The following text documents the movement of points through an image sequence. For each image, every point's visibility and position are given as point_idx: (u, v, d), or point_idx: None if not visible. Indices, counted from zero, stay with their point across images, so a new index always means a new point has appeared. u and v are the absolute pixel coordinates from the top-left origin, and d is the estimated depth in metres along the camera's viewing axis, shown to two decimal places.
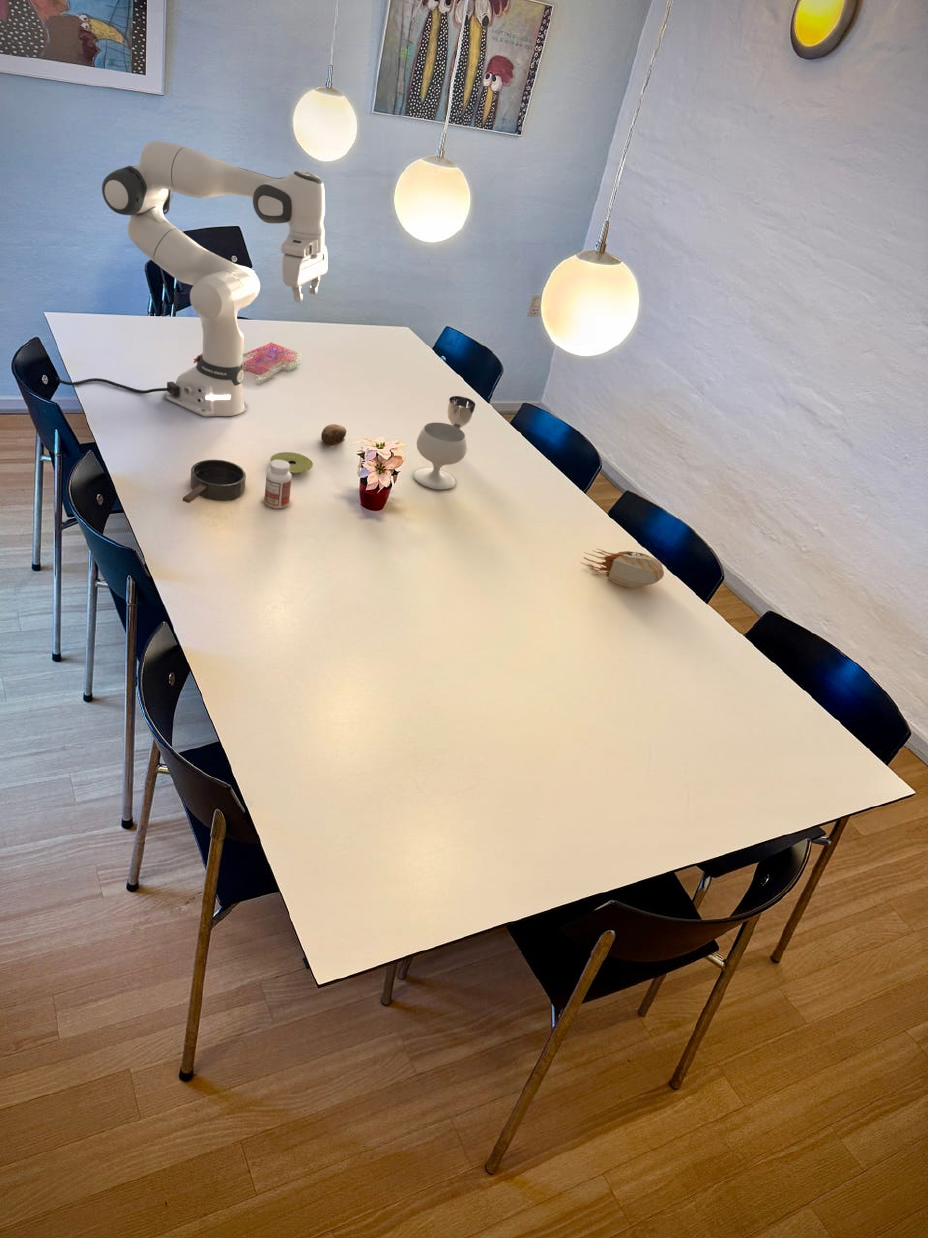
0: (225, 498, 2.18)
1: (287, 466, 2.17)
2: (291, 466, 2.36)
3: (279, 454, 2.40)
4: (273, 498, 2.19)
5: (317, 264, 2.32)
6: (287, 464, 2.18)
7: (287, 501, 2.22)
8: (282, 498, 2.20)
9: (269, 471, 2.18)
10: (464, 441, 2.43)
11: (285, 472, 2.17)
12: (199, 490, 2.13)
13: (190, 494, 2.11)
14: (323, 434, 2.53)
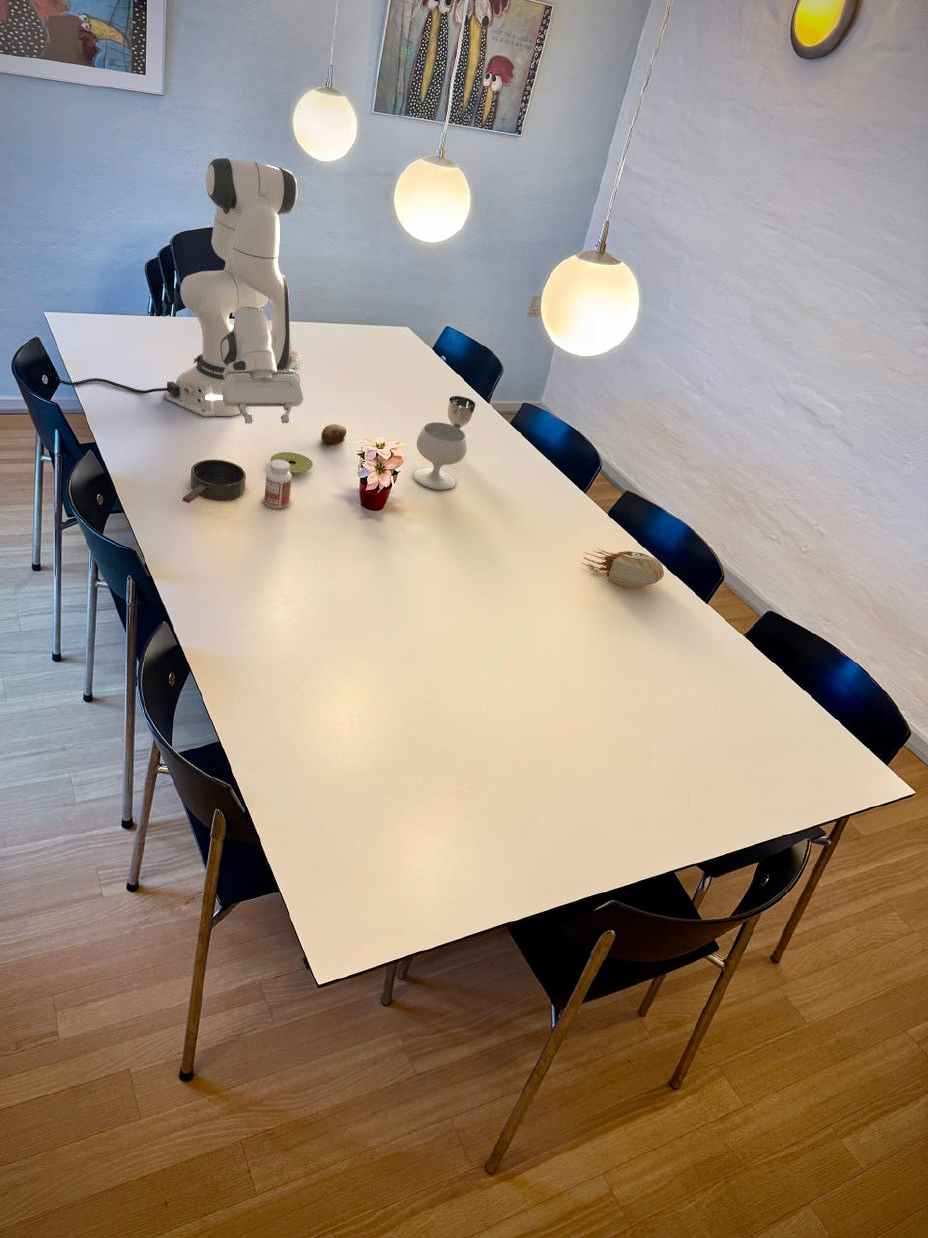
0: (225, 498, 2.18)
1: (287, 466, 2.17)
2: (291, 466, 2.36)
3: (279, 454, 2.40)
4: (273, 498, 2.19)
5: (274, 388, 2.23)
6: (287, 464, 2.18)
7: (287, 501, 2.22)
8: (282, 498, 2.20)
9: (269, 471, 2.18)
10: (464, 441, 2.43)
11: (285, 472, 2.17)
12: (199, 490, 2.13)
13: (190, 494, 2.11)
14: (323, 434, 2.53)
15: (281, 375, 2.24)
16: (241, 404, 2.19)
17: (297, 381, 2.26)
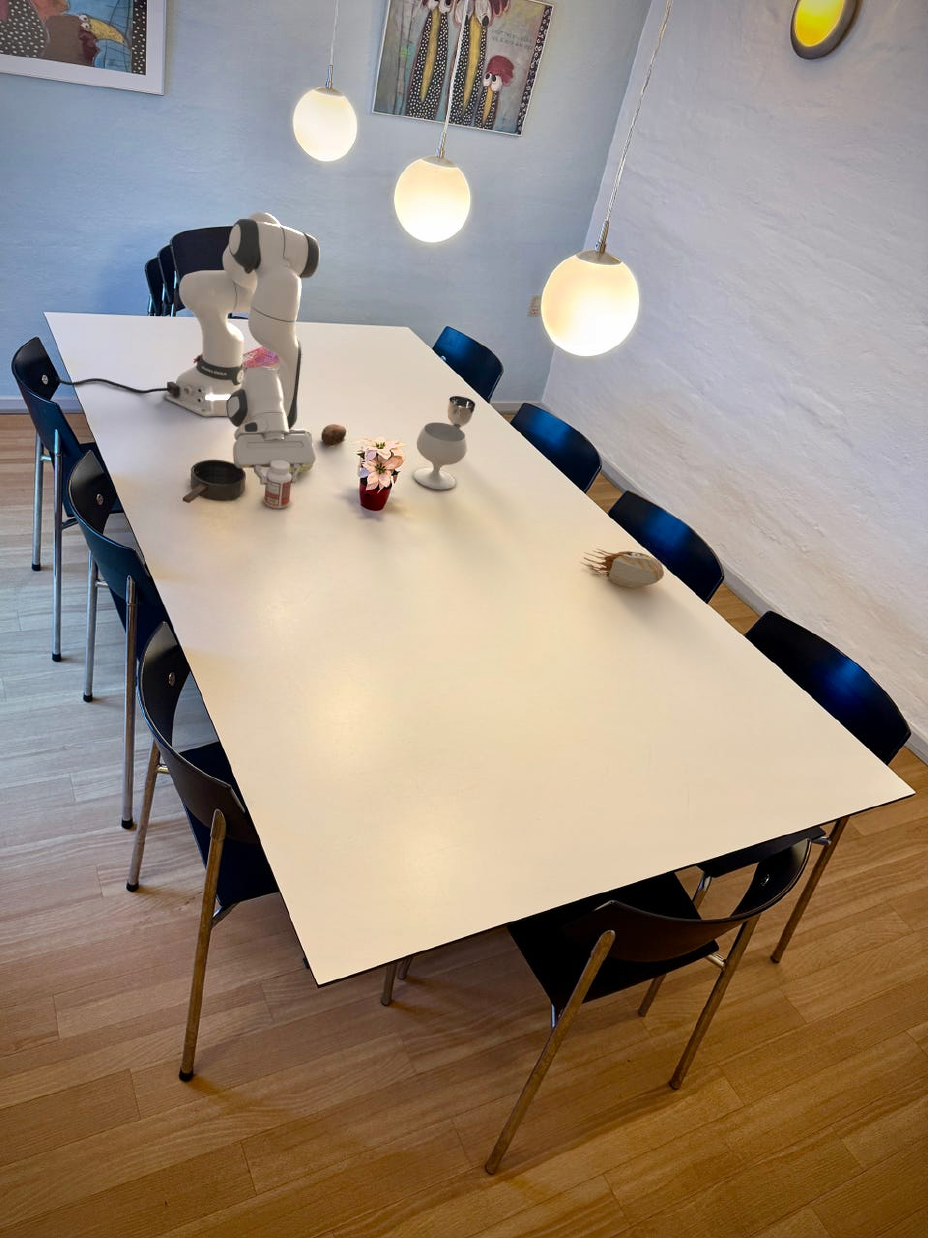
0: (225, 498, 2.18)
1: (287, 466, 2.17)
2: (291, 466, 2.36)
3: None
4: (273, 498, 2.19)
5: (286, 449, 2.20)
6: (287, 464, 2.18)
7: (287, 501, 2.22)
8: (282, 498, 2.20)
9: (269, 471, 2.18)
10: (464, 441, 2.43)
11: (285, 472, 2.17)
12: (199, 490, 2.13)
13: (190, 494, 2.11)
14: (323, 434, 2.53)
15: (293, 435, 2.21)
16: (256, 466, 2.17)
17: (309, 441, 2.23)
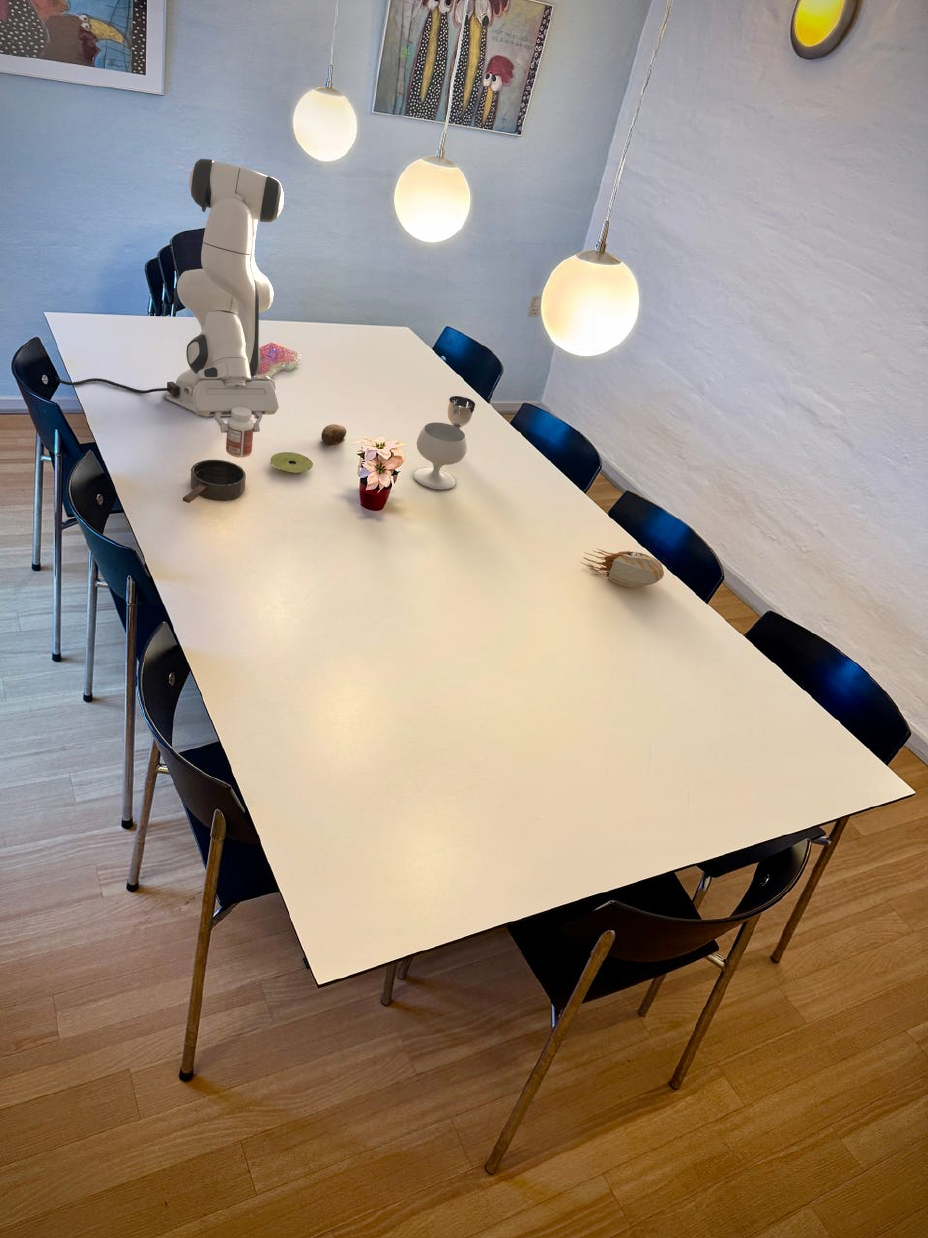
0: (225, 498, 2.18)
1: (249, 413, 2.10)
2: (291, 466, 2.36)
3: (279, 454, 2.40)
4: (234, 447, 2.13)
5: (248, 396, 2.13)
6: (249, 411, 2.11)
7: (249, 450, 2.16)
8: (244, 446, 2.13)
9: (230, 418, 2.11)
10: (464, 441, 2.43)
11: (247, 419, 2.10)
12: (199, 490, 2.13)
13: (190, 494, 2.11)
14: (323, 434, 2.53)
15: (255, 382, 2.15)
16: (217, 412, 2.10)
17: (272, 388, 2.16)
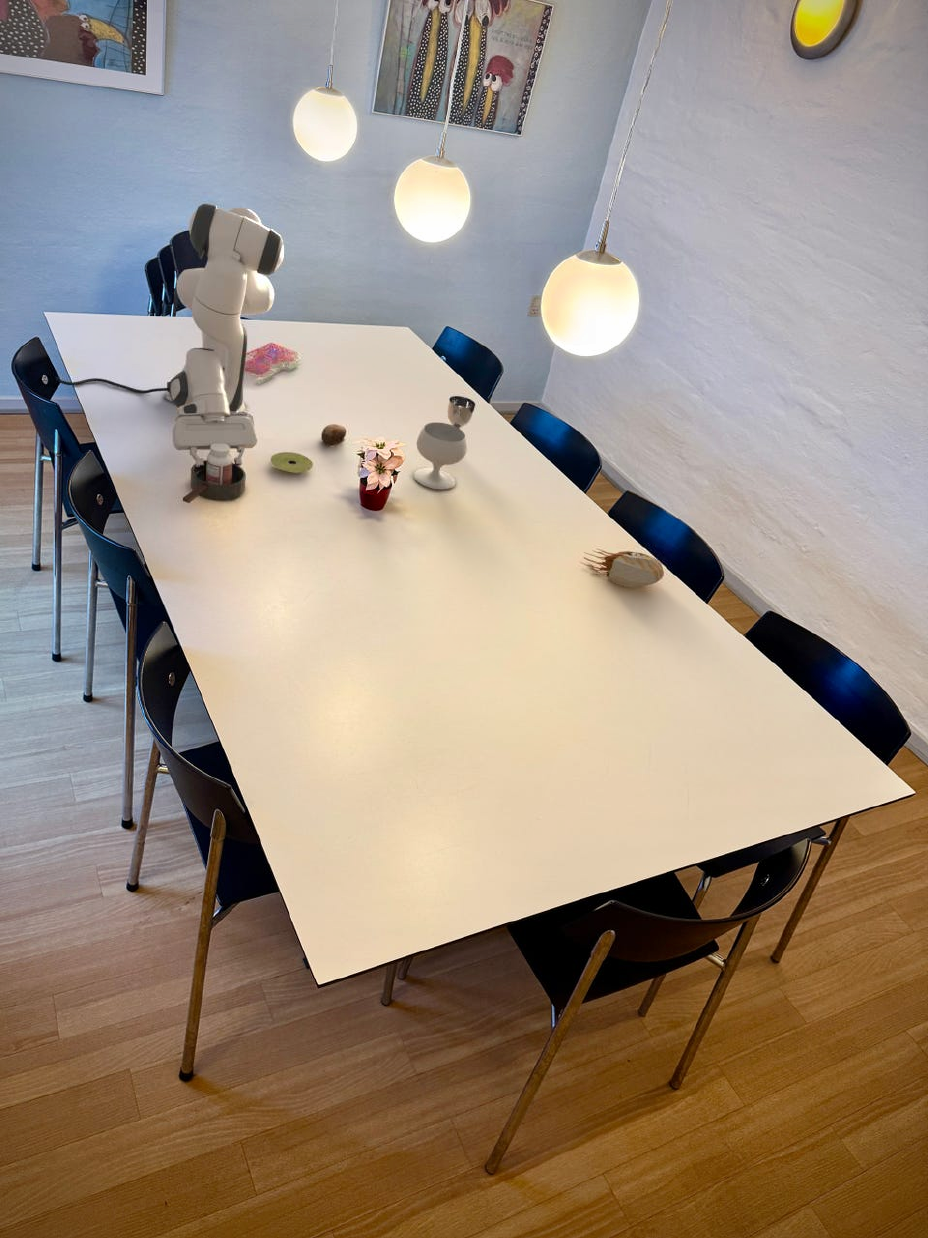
0: (225, 498, 2.18)
1: (227, 449, 2.16)
2: (291, 466, 2.36)
3: (279, 454, 2.40)
4: (213, 481, 2.19)
5: (227, 431, 2.19)
6: (227, 447, 2.17)
7: None
8: (223, 481, 2.19)
9: (209, 454, 2.17)
10: (464, 441, 2.43)
11: (225, 455, 2.16)
12: (199, 490, 2.13)
13: (190, 494, 2.11)
14: (323, 434, 2.53)
15: (234, 417, 2.20)
16: (192, 447, 2.15)
17: (250, 423, 2.22)
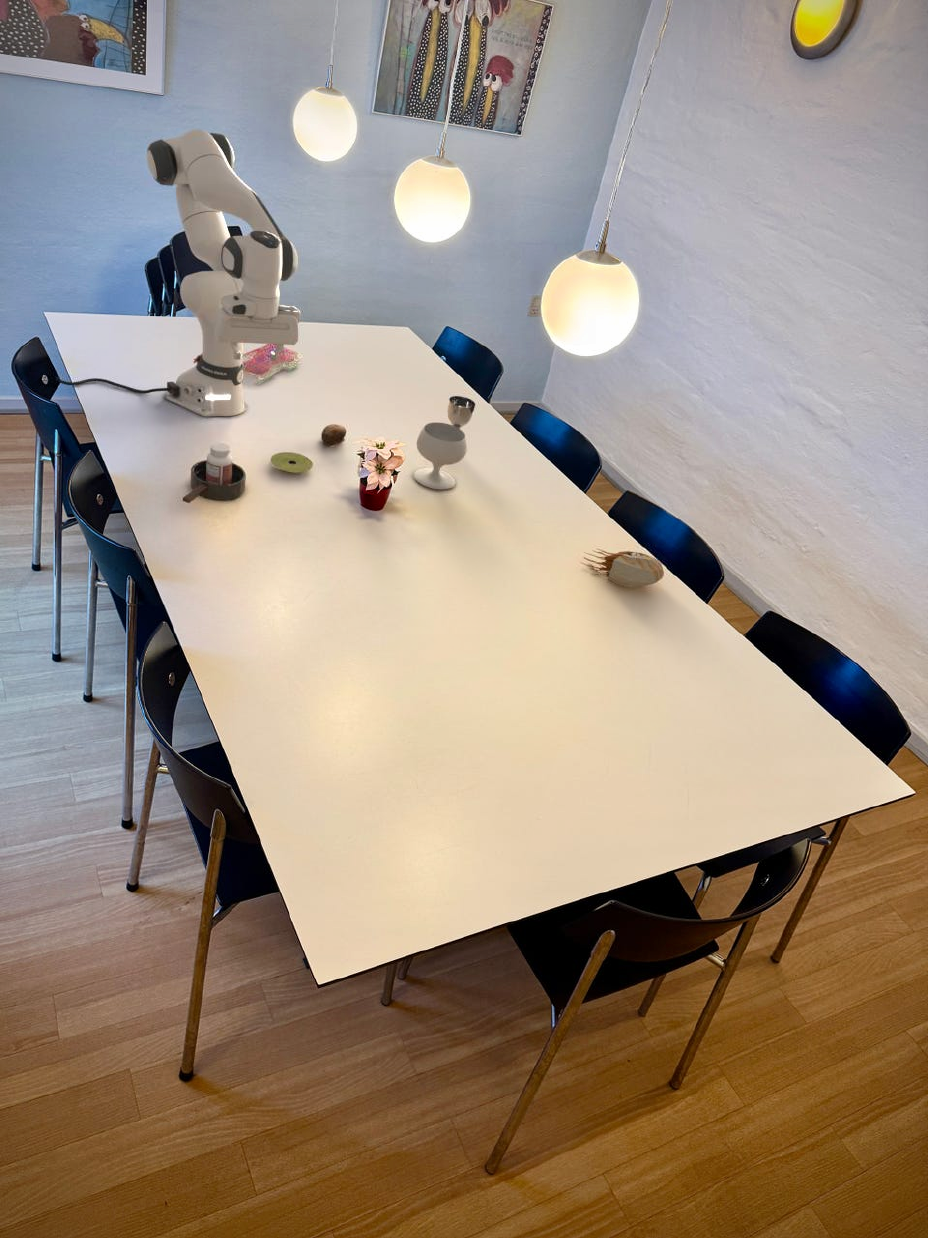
0: (225, 498, 2.18)
1: (227, 449, 2.16)
2: (291, 466, 2.36)
3: (279, 454, 2.40)
4: (213, 481, 2.19)
5: (270, 330, 2.17)
6: (227, 447, 2.17)
7: None
8: (223, 481, 2.19)
9: (209, 454, 2.17)
10: (464, 441, 2.43)
11: (225, 455, 2.16)
12: (199, 490, 2.13)
13: (190, 494, 2.11)
14: (323, 434, 2.53)
15: (281, 317, 2.16)
16: (232, 343, 2.15)
17: (296, 324, 2.19)
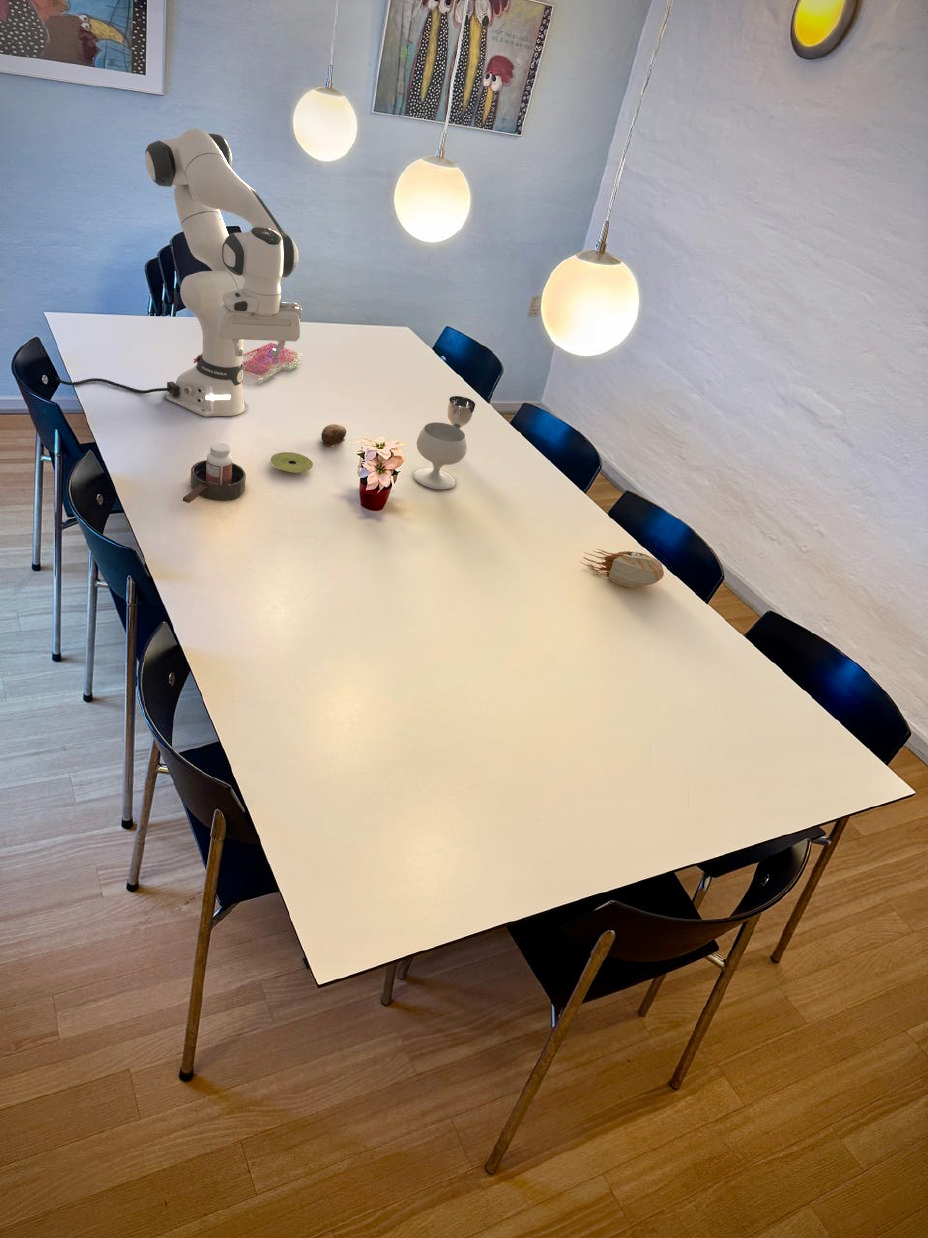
0: (225, 498, 2.18)
1: (227, 449, 2.16)
2: (291, 466, 2.36)
3: (279, 454, 2.40)
4: (213, 481, 2.19)
5: (272, 327, 2.17)
6: (227, 447, 2.17)
7: None
8: (223, 481, 2.19)
9: (209, 454, 2.17)
10: (464, 441, 2.43)
11: (225, 455, 2.16)
12: (199, 490, 2.13)
13: (190, 494, 2.11)
14: (323, 434, 2.53)
15: (282, 314, 2.16)
16: (234, 340, 2.15)
17: (297, 320, 2.19)
